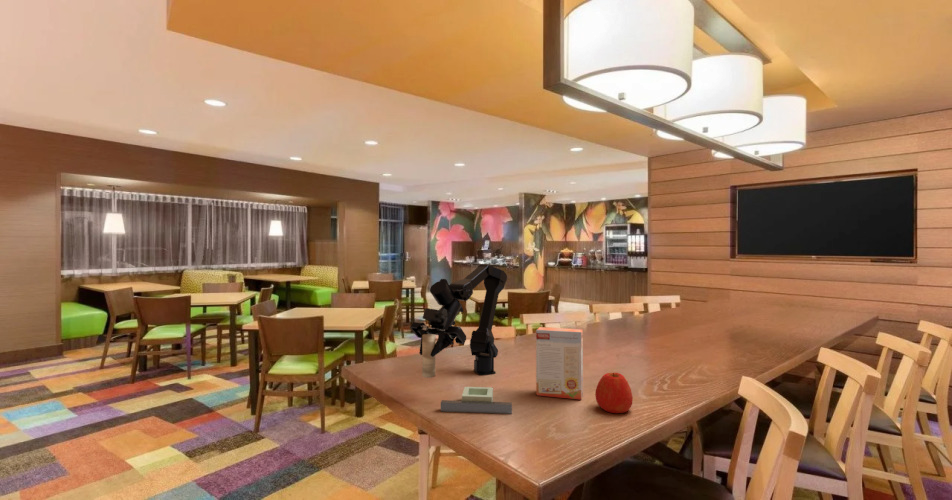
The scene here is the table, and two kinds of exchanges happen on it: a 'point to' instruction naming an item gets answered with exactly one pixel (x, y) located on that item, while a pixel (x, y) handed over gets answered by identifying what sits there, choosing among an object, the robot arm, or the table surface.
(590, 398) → the table surface
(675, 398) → the table surface
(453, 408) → the rail
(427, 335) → the birch dowel
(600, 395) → the apple
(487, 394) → the socket block
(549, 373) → the cracker box
